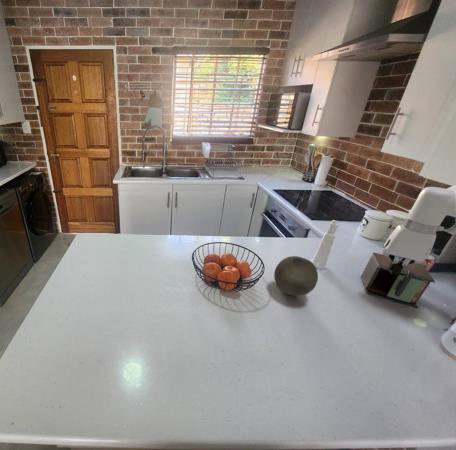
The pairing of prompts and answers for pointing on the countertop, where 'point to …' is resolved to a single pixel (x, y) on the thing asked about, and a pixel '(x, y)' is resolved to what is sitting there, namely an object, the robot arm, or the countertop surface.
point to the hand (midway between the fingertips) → (392, 272)
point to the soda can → (428, 262)
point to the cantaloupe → (296, 276)
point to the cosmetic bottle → (325, 246)
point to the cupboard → (392, 278)
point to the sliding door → (405, 287)
